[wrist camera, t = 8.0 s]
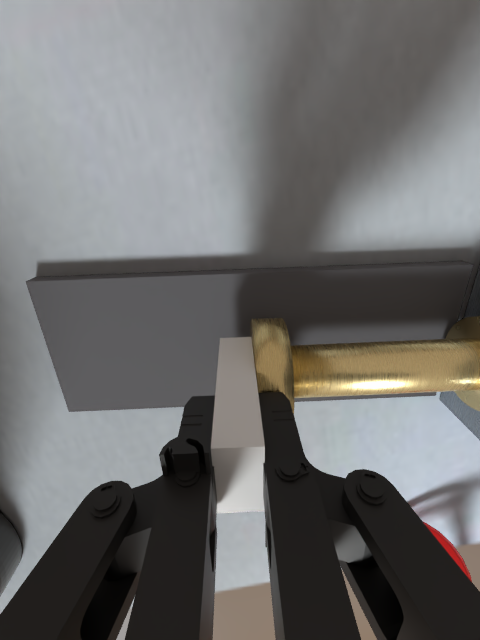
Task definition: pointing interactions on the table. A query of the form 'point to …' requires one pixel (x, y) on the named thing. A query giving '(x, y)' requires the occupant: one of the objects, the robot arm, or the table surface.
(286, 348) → the gold metal bolt
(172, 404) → the mat
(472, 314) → the grey rectangular plate
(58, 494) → the table surface
